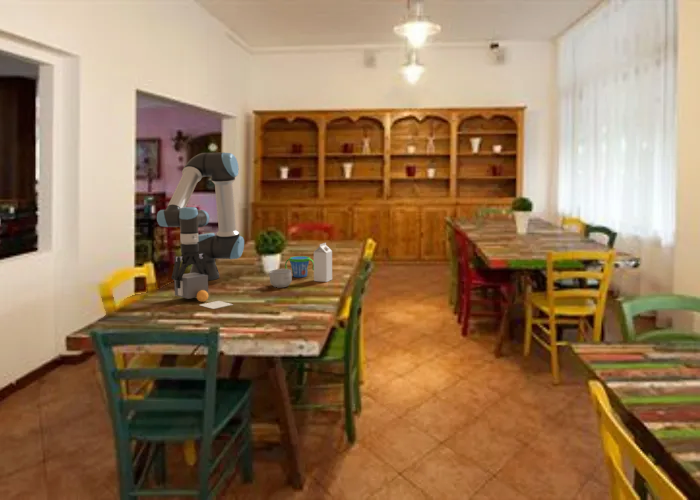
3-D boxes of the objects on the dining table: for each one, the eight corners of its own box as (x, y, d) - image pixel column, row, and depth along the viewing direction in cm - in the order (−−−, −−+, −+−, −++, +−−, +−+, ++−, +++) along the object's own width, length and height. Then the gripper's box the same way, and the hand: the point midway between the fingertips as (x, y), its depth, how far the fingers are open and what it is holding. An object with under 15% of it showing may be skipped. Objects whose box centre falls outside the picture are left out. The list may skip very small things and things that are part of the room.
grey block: (175, 295, 254) (174, 275, 252) (195, 291, 261) (194, 272, 260) (188, 298, 247) (187, 278, 246) (208, 295, 254) (207, 275, 253)
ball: (192, 294, 250) (197, 289, 246) (202, 292, 253) (207, 287, 250) (197, 304, 248) (202, 299, 245) (207, 302, 252) (212, 297, 249)
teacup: (287, 289, 275) (287, 272, 274) (266, 288, 277) (265, 271, 276) (296, 283, 289) (296, 267, 287) (275, 282, 291) (275, 267, 290)
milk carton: (313, 281, 294) (313, 244, 292) (319, 278, 301) (319, 242, 298) (326, 282, 292) (326, 244, 289) (332, 279, 298) (332, 243, 295)
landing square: (198, 305, 243) (198, 304, 243) (218, 301, 250) (218, 300, 250) (213, 309, 236) (213, 308, 236) (233, 304, 244) (233, 304, 244)
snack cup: (282, 277, 304) (282, 258, 303) (289, 274, 314) (288, 255, 313) (310, 279, 300) (310, 259, 299) (316, 275, 310) (316, 256, 309)
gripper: (170, 246, 240) (173, 298, 243) (216, 241, 257) (218, 290, 260) (161, 244, 245) (163, 296, 248) (207, 240, 262) (208, 288, 265)
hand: (191, 293), depth 254 cm, fingers closed on grey block, 10 cm apart
